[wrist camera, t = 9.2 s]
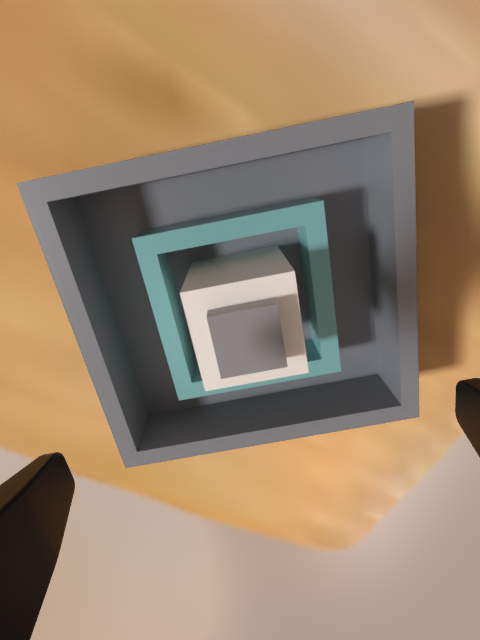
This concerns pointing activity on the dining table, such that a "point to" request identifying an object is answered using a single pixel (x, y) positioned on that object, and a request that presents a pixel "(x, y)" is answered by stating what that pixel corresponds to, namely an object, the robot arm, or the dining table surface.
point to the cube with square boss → (244, 318)
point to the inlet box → (231, 238)
